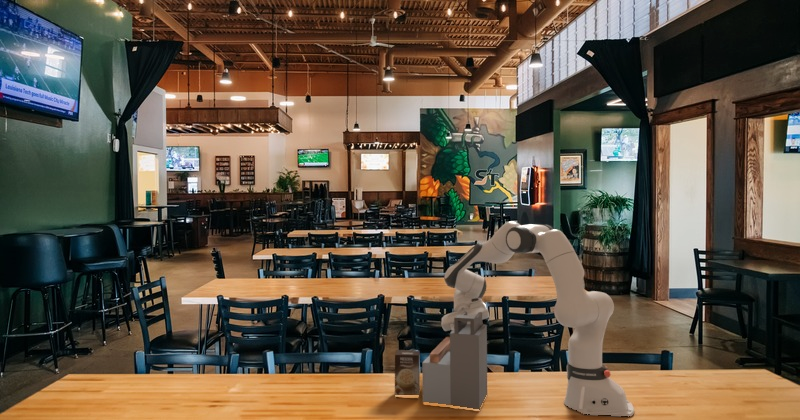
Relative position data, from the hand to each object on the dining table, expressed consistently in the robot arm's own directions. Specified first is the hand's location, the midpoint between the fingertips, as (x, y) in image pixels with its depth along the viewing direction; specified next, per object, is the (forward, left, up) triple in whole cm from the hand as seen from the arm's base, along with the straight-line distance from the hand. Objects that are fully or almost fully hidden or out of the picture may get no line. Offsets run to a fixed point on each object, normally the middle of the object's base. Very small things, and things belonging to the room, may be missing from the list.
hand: (465, 327), depth 207 cm
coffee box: (+17, +24, -21) cm, 36 cm away
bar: (+5, +18, -6) cm, 19 cm away
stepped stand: (-1, +23, -21) cm, 31 cm away
